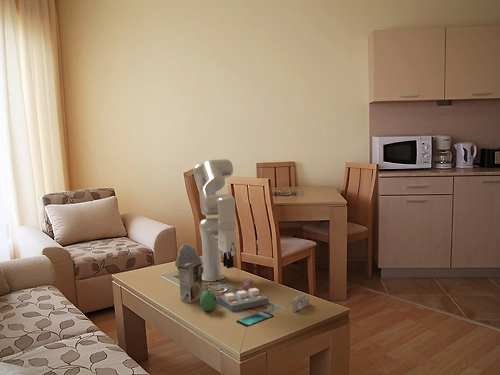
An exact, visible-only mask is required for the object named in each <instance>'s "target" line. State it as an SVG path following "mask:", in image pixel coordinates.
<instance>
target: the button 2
mask: <svg viewBox="0 0 500 375" xmlns="http://www.w3.org/2000/svg"><path fill="white" fill-rule="evenodd" d="M248 293H249V295H251V296H255V295H259V293H260V290H259V289H258V288H256V287H253V288H252V287H251V289H248Z"/></svg>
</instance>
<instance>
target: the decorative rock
mask: <svg viewBox="0 0 500 375" xmlns="http://www.w3.org/2000/svg"><path fill="white" fill-rule="evenodd" d="M176 256H177V257H176V260H175V263H174V264H175V267H176V268H177V270H178V271H179V266H182V265H184V264H186V263H188V262H197V263H201V267H203V259H202V258H201V256H200V255H199V252H198V251H197V250H196V249H195V247H194V246H192V245H190V244H189V243H184V244H182V245H181V246H180V247H179V251H178V254H177V255H176Z"/></svg>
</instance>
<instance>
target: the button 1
mask: <svg viewBox="0 0 500 375" xmlns="http://www.w3.org/2000/svg"><path fill="white" fill-rule="evenodd" d="M233 293H234V292H229V293H224V294H223V295H224V299H225V300H226V301H231V300H235V295H234V294H233Z"/></svg>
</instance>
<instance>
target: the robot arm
mask: <svg viewBox="0 0 500 375" xmlns="http://www.w3.org/2000/svg"><path fill="white" fill-rule="evenodd" d="M233 173H234V166H233V163H232V162H231V161H230V160H229V159H210V160H207V161H205V162H203V163H198V164H196V165H195V166H194V167H193V178H194V180H195V183H196V185H197V188H198V194H199V202H200V205H199V206H200V212H201V214H202V215H203V216H217V217H208V218H204V219H202V220H200V222H199V226H198V228H199V233H200V238H201V250H202V251H201V253H202V254H201V256H202V258H201V259H202V263H203V264H202V282H217V281H216V280H219V281H221V280H223V279H225V274H224V273H222V265H223V267H226V269H232V268H234V267H235V266H234V265H235V263H234V258H235V256H237V254H236V252H237V248H238V247H237V246H238V245H237V232H236V229H237V228H236V227H237V226H236V225H237V223H236V200H235V197H234V196H233V195H232V194H229V193H228V194H217V192H219V191H220V190H222V189H223V188H224V186H225V184H226V180H225V179H228V178H230V177H231V176H232V175H233ZM216 237H217V239H216ZM221 254H222V255H221ZM221 257H222V258H221ZM222 262H223V263H222Z"/></svg>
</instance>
